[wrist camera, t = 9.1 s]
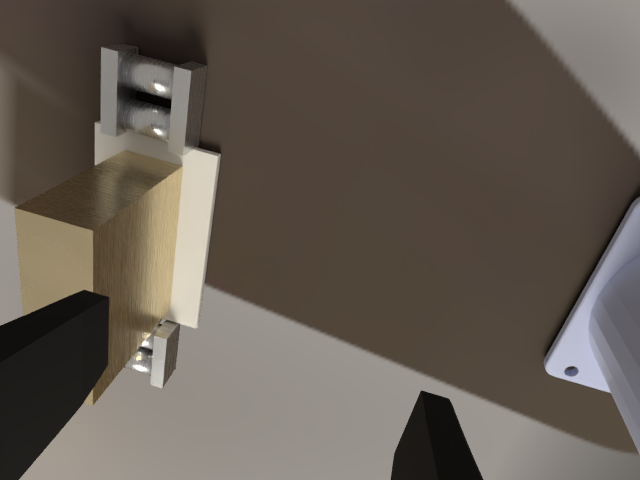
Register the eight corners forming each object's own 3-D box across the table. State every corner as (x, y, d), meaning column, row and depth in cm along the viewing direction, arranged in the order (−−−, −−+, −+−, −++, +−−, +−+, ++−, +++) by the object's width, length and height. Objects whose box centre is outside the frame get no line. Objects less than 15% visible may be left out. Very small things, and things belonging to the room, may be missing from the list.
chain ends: (207, 65, 18) (191, 71, 17) (175, 368, 25) (162, 388, 23) (123, 43, 18) (101, 47, 17) (114, 350, 25) (98, 368, 24)
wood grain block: (183, 165, 19) (93, 230, 14) (170, 309, 23) (93, 405, 17) (124, 149, 20) (14, 208, 14) (120, 294, 23) (29, 385, 18)
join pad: (220, 153, 19) (218, 156, 19) (199, 324, 23) (196, 328, 23) (99, 120, 20) (94, 122, 19) (98, 294, 23) (94, 297, 23)
